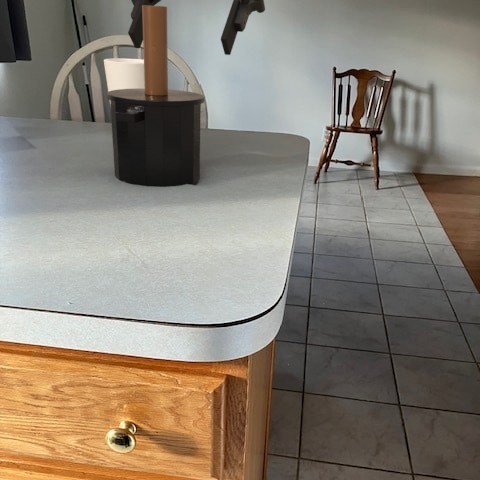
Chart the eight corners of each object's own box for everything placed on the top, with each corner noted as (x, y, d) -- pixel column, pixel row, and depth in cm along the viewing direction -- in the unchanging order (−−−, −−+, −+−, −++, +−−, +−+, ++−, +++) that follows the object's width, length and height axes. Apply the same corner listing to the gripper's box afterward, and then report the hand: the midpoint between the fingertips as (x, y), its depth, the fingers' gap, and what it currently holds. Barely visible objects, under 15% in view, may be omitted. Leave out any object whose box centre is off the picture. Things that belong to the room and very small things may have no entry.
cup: (168, 137, 103) (167, 63, 97) (118, 140, 98) (114, 62, 92) (148, 127, 110) (146, 58, 104) (101, 130, 105) (96, 57, 99)
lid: (88, 104, 68) (80, 1, 62) (136, 95, 78) (132, 5, 73) (181, 115, 64) (181, 6, 59) (218, 103, 75) (220, 10, 70)
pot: (88, 188, 70) (81, 102, 65) (148, 162, 85) (145, 89, 79) (170, 200, 67) (169, 111, 62) (217, 171, 82) (220, 96, 77)
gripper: (305, -47, 80) (270, 71, 74) (151, -51, 86) (109, 57, 81) (301, -100, 73) (261, 26, 67) (134, -99, 79) (86, 16, 74)
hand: (178, 44), depth 74 cm, fingers open, 13 cm apart
